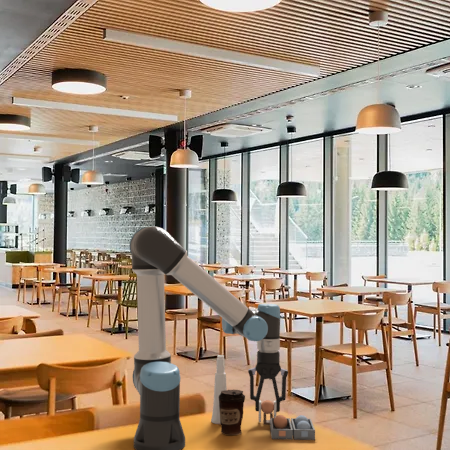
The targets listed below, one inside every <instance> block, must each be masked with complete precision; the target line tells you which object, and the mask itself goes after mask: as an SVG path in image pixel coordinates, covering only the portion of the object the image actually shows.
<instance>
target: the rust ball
mask: <svg viewBox="0 0 450 450" xmlns="http://www.w3.org/2000/svg"><path fill="white" fill-rule="evenodd" d="M273 418H274V417H273ZM274 426H275V427H276V428H277V429H284V428H285V427H286V426H287V419H286V416H284V415H282V414H278V415H276V417H275V418H274Z"/></svg>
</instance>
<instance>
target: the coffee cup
mask: <svg viewBox="0 0 450 450" xmlns="http://www.w3.org/2000/svg"><path fill="white" fill-rule="evenodd" d="M245 400H246V395H245V394H244V391H243V390H240V389H227V390H225V391H221V394H220V395H219V410H220V423H221V424H220V432H221V434H222V435H226V436H238V435H241V434H242V423H243V418H244V417H243V416H244V407H245V406H244V403H245Z"/></svg>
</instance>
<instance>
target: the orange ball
mask: <svg viewBox="0 0 450 450" xmlns="http://www.w3.org/2000/svg"><path fill="white" fill-rule="evenodd" d="M261 412H263V414H264V413H265V414H266V415H270V413H274V402H273V401H272V400H269V399H268V400H267V399H265V400H263V401H262V402H261Z"/></svg>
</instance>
